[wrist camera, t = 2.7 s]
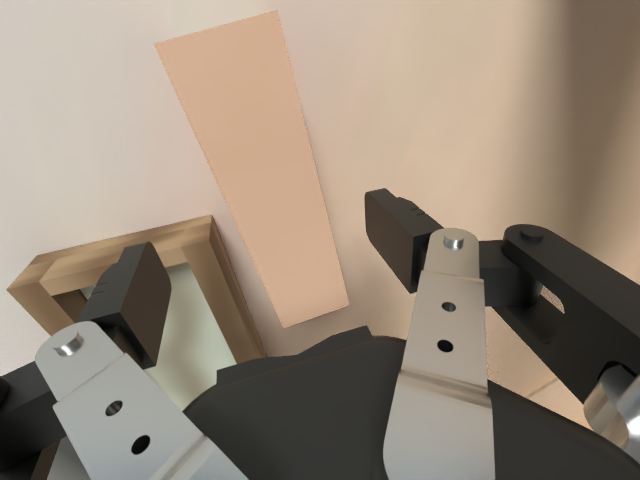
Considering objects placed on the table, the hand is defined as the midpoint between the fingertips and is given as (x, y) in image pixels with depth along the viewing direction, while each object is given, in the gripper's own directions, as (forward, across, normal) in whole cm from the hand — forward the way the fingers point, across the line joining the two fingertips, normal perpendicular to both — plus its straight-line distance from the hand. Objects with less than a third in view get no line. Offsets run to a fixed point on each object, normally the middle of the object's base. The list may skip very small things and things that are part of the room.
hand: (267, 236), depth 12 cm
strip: (+8, -1, 0) cm, 8 cm away
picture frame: (+8, +8, +11) cm, 16 cm away
